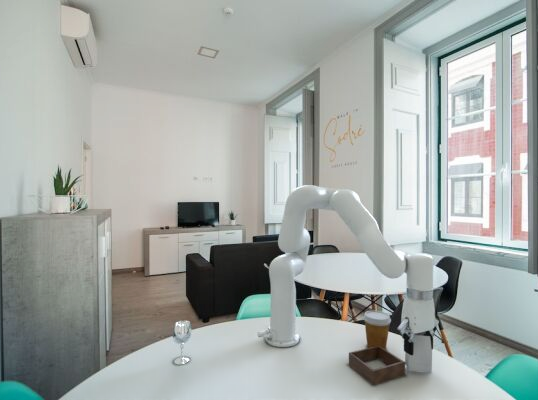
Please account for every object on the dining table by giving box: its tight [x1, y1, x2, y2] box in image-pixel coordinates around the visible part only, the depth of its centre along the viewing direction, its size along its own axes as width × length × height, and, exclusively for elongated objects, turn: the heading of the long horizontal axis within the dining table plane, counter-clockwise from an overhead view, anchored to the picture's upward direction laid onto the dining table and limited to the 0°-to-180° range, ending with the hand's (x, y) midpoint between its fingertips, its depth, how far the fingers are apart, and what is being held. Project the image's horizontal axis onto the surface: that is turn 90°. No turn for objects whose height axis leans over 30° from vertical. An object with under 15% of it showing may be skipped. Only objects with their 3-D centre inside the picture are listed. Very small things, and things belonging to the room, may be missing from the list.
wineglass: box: [172, 320, 193, 366], centre depth 95 cm, size 6×6×12 cm
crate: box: [348, 346, 406, 386], centre depth 92 cm, size 12×11×4 cm
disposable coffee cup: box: [362, 310, 392, 350], centre depth 106 cm, size 10×10×12 cm
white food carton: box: [404, 334, 433, 374], centre depth 92 cm, size 4×7×10 cm, turn 83°
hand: (418, 350), depth 92 cm, fingers closed on white food carton, 7 cm apart
